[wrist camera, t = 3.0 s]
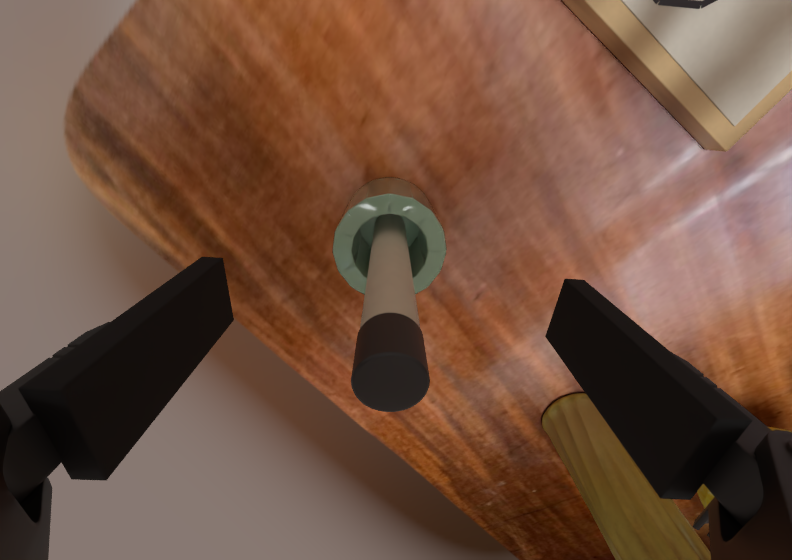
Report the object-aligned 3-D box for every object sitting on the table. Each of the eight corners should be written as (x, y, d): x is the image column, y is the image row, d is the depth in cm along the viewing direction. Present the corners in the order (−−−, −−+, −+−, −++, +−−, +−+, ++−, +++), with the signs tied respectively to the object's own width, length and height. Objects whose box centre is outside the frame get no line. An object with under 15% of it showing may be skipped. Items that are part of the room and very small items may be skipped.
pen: (368, 229, 22) (336, 393, 9) (385, 203, 21) (378, 340, 8) (393, 245, 22) (400, 423, 9) (411, 220, 22) (445, 376, 8)
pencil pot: (329, 234, 23) (313, 266, 18) (376, 157, 20) (372, 170, 15) (400, 277, 24) (403, 317, 19) (451, 210, 22) (469, 236, 17)
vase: (614, 390, 30) (785, 597, 17) (596, 436, 32) (732, 644, 20) (547, 392, 30) (668, 600, 17) (535, 438, 32) (632, 647, 19)
